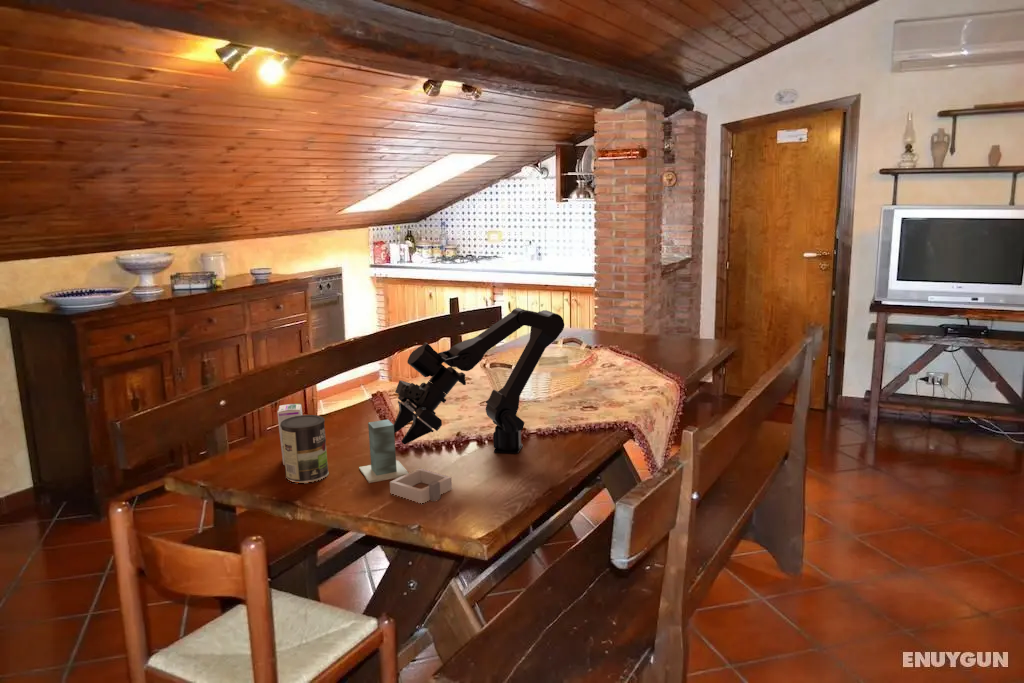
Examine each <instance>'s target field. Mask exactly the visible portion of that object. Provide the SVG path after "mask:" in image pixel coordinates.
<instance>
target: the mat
mask: <svg viewBox="0 0 1024 683" xmlns="http://www.w3.org/2000/svg"><path fill="white" fill-rule="evenodd" d="M358 469H359V471H360V472H361V474H362V475H363V476H364V478H365V479H366V481H367V482H368V484H370V483H376V482H381V481H387V480H392V479H393V480H394V479H397V478H399V477H401V476H404V475H406V474H408V473H410V472H409V471H408V470H407V469H406V468H405V467H404V465H403V464H402V463H401V462H400V461H399V459H398V460H397V459H396V469H397V472H393V473H387V474H382V475H376V474H375V473H374V471H373V470H372V469H371V464H368V465H363V466H359V467H358Z"/></svg>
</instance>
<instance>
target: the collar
mask: <svg viewBox="0 0 1024 683" xmlns="http://www.w3.org/2000/svg"><path fill="white" fill-rule="evenodd" d="M452 480H453V479H452V477H451V476H448V475H446V474H445V475H444V474H442V473H439V472H434V471H431V470H428V469H424V468H421V467H420V468H417V469H415V470H412V471H410V472H409V473H408V474H406V475H404V476H401V477H398V478H394V479H393V480H391V481H389V492H390V493H391V494H390V495H392V494H394V495H393V496H395V495H397V496H396V497H398V496H400V497H399V498H401V497H403V498H402V499H404V498H406V499H405V500H407V499H409V500H408V501H410V500H412V501H411V502H413V501H416V502H415V503H417V502H418V504H420V503H421V504H420V505H423V504H422V503H424V504H425V502H426V503H428V502H430V501H429V500H432V501H431V502H433V501H435V502H437V501H438V499H439V500H441V494H442V495H443V493H444V494H445V493H448V492H450V491H451V490H453V483H452ZM420 483H422V484H426V485H427V486H425V487H422V488H420V487H417V486H416V485H418V484H420ZM415 486H416V487H415ZM436 500H437V501H436ZM427 501H428V502H427Z"/></svg>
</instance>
